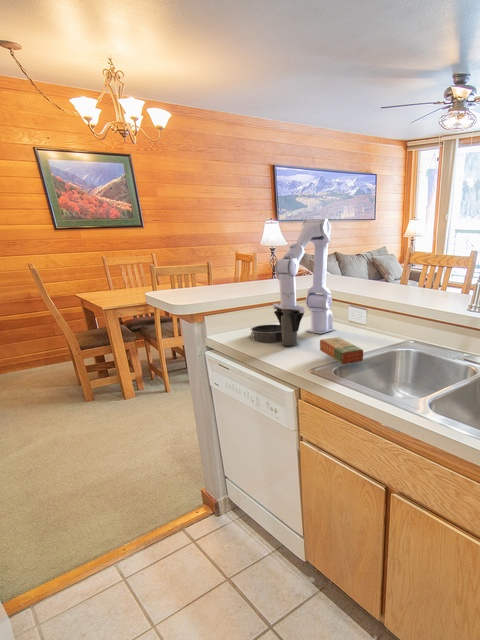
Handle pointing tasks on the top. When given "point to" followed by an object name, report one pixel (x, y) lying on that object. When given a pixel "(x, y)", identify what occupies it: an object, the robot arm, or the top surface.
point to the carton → (341, 350)
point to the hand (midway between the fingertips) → (289, 330)
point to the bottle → (288, 329)
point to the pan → (267, 333)
